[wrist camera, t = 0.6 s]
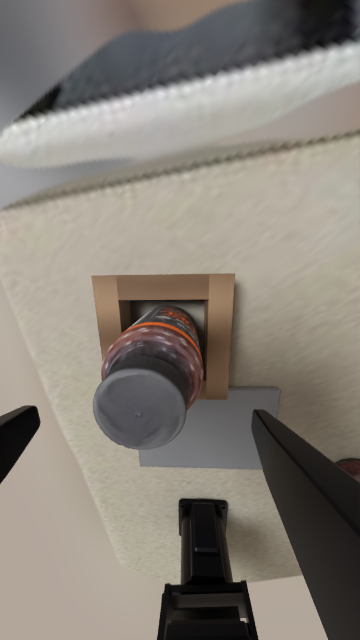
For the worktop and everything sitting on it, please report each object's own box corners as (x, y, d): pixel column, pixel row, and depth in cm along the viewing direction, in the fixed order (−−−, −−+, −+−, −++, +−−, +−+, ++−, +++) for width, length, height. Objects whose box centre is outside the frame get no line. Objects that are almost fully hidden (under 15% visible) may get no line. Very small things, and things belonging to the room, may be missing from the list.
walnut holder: (221, 381, 19) (227, 399, 16) (119, 380, 20) (107, 398, 17) (226, 274, 16) (234, 273, 14) (107, 276, 17) (91, 275, 14)
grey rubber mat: (267, 464, 22) (269, 469, 21) (141, 461, 22) (140, 466, 22) (277, 387, 19) (280, 391, 19) (134, 386, 20) (133, 389, 19)
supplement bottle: (207, 322, 18) (243, 395, 7) (178, 367, 19) (167, 490, 8) (156, 292, 17) (103, 318, 6) (130, 341, 18) (47, 433, 7)
